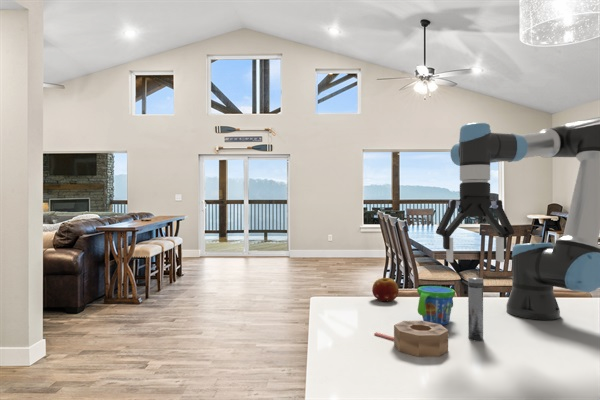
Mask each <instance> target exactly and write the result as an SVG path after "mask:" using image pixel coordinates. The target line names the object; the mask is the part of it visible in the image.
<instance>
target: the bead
mask: <svg viewBox="0 0 600 400" xmlns="http://www.w3.org/2000/svg"><path fill="white" fill-rule="evenodd" d="M393 337H394V341H393V345H394V347H396V349H397V350H398V352H399V353H403V354H408V355H411V356H414V357H417V358H418V357H419V358H420V357H421V358H424V357H425V358H427V357H429V358H431V357H432V358H433V357H435V358H436V357H441V356H443V355H444V354H445V353H447V352H449V329H447V328H446V327H444V325H440V324H436V323H431V322H426V321H423V320H402V321H400V322H398V323H394V325H393Z"/></svg>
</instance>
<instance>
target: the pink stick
mask: <svg viewBox="0 0 600 400" xmlns="http://www.w3.org/2000/svg"><path fill="white" fill-rule="evenodd" d="M374 336H376V337H379V338H384V339H386V340H390V341H393V342H394V336H390V335H387V334H383V333H380V332H375V333H374Z"/></svg>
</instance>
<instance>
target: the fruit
mask: <svg viewBox="0 0 600 400" xmlns="http://www.w3.org/2000/svg"><path fill="white" fill-rule="evenodd" d="M371 291H372V295H373V296H374V297H375V299H377V300H379V301H381V302H392V301H394V300H395V299H396V298H397V297H398V295H399V292H400V291H399V285H398V284H397V282H396V281H395V280H394V279H392V278H389V277H382V278H381V277H380V278H378V279H377V280H375V281H374V282H373V284H372V290H371Z"/></svg>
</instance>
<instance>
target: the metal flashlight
mask: <svg viewBox="0 0 600 400" xmlns="http://www.w3.org/2000/svg"><path fill="white" fill-rule="evenodd" d="M467 279H468V281H467V286H468V287H467V289H468V290H467V291H468V293H467V294H468V296H467V298H468V300H467V304H468V305H467V306H468V309H467V310H468V315H467V316H468V323H467V324H468V327H467V329H468V333H467V335H468V336H467V337H468V340H470V339H471V340H470V341H474V340H475V342H482V341H484V279H483V277H475V276H474V277H473V276H472V277H471V276H470V277H468V278H467Z"/></svg>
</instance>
